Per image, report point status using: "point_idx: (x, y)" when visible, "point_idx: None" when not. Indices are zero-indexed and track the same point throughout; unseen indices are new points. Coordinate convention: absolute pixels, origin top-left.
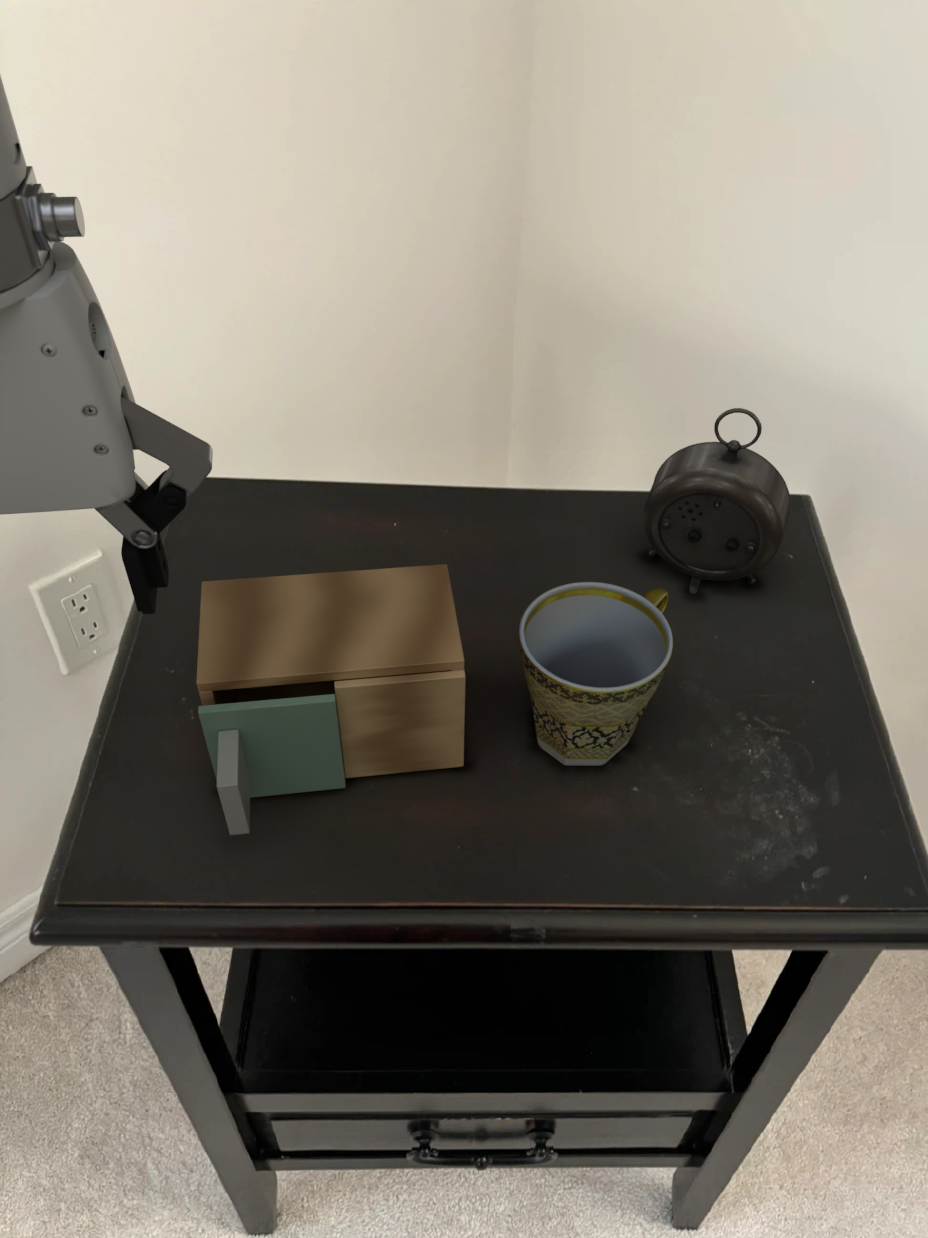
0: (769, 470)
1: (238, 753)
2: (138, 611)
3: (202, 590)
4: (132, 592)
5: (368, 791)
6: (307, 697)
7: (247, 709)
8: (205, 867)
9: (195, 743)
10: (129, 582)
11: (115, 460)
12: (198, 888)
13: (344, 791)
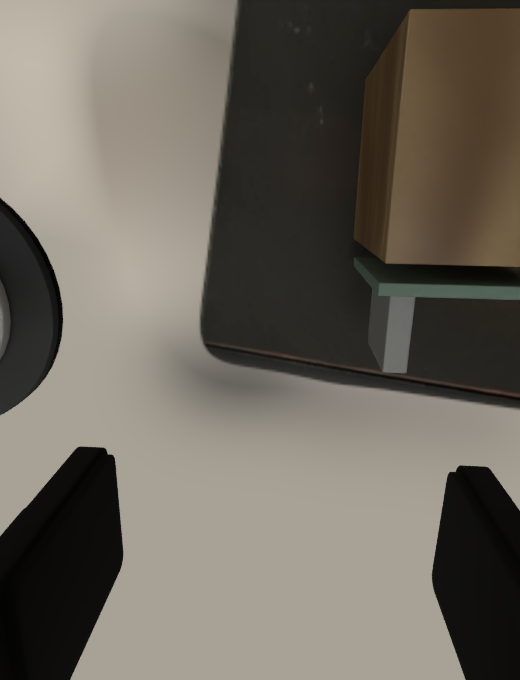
0: None
1: (411, 327)
2: (433, 587)
3: (409, 37)
4: (451, 637)
5: None
6: None
7: (443, 297)
8: (330, 327)
9: (323, 164)
10: (463, 671)
11: None
12: (323, 347)
13: None
